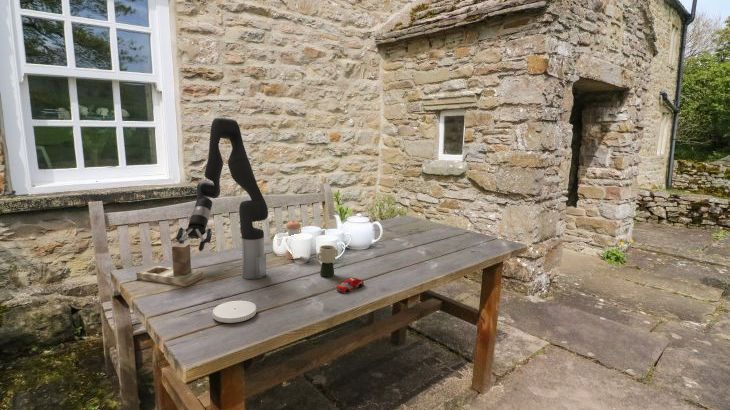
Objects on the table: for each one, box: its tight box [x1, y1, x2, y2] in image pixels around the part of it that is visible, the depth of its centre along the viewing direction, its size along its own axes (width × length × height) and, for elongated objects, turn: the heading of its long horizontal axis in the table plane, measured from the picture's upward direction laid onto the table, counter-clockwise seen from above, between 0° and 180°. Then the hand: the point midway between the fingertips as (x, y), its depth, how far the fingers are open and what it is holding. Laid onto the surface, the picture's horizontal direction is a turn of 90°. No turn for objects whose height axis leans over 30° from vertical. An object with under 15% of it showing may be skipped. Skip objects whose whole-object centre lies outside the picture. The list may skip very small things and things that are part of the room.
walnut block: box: [171, 242, 192, 276], centre depth 161 cm, size 5×5×12 cm
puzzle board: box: [135, 265, 204, 287], centre depth 164 cm, size 24×10×3 cm, turn 75°
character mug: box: [316, 244, 339, 277], centre depth 173 cm, size 11×7×13 cm, turn 131°
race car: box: [336, 277, 364, 294], centre depth 160 cm, size 13×5×4 cm, turn 138°
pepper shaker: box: [285, 219, 301, 260], centre depth 197 cm, size 7×7×19 cm
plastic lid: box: [212, 300, 257, 324], centre depth 133 cm, size 14×14×2 cm
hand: (190, 250), depth 169 cm, fingers open, 8 cm apart
